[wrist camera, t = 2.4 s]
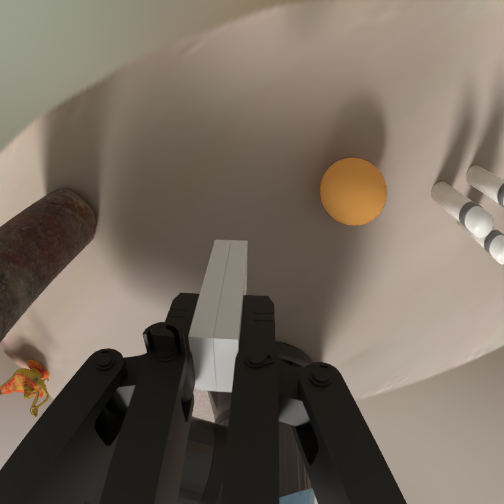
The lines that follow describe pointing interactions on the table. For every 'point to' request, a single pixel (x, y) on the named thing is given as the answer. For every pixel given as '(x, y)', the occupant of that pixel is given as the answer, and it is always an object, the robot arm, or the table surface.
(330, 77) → the table surface
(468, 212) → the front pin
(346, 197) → the ball
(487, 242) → the pin
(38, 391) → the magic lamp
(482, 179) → the pin
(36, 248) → the rusty brown cylinder
